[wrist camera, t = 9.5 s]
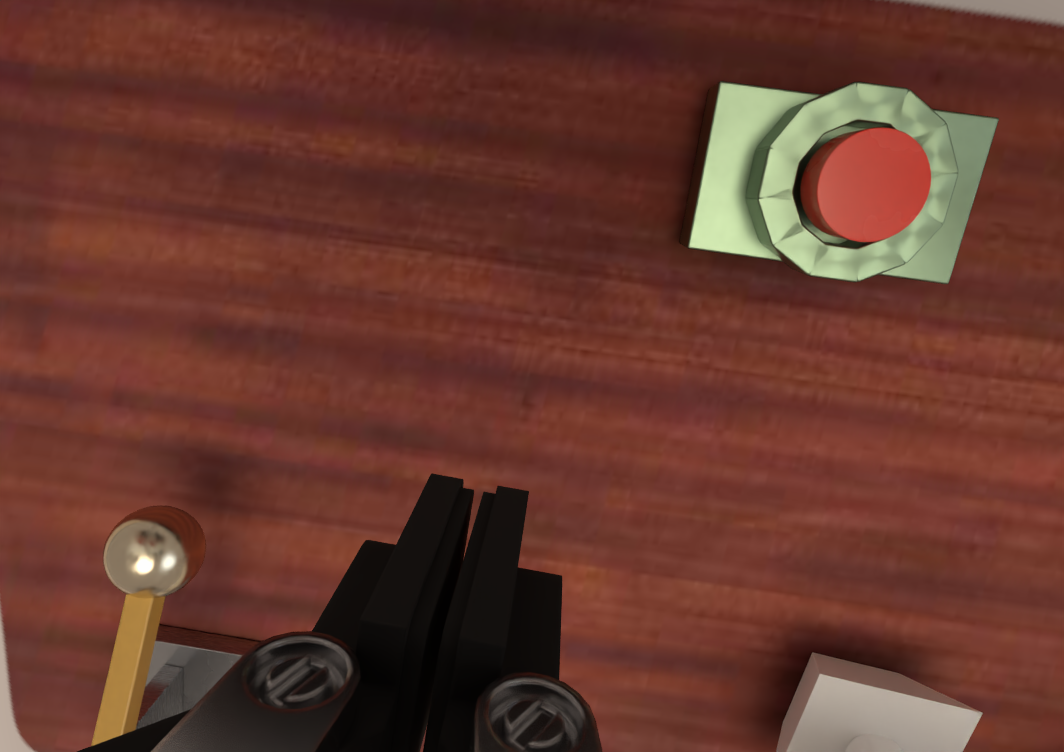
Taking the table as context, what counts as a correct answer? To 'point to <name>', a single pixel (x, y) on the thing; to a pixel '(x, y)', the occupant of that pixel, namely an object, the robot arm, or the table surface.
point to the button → (866, 184)
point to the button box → (780, 160)
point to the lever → (143, 601)
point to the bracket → (185, 670)
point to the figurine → (871, 712)
